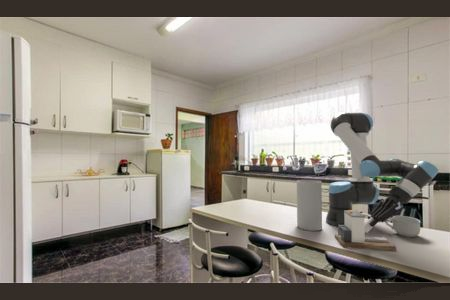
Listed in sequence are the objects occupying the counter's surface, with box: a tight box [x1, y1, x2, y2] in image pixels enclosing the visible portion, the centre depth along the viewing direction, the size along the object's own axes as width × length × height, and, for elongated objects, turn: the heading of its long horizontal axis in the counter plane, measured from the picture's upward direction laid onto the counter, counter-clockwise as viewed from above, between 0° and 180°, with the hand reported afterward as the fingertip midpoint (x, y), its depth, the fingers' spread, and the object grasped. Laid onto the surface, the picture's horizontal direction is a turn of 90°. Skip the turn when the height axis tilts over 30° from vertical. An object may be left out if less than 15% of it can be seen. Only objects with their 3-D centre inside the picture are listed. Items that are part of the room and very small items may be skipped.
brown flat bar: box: [339, 235, 390, 243], centre depth 99 cm, size 3×19×1 cm, turn 80°
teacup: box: [384, 215, 421, 238], centre depth 110 cm, size 14×11×8 cm
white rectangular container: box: [344, 210, 366, 243], centre depth 99 cm, size 9×5×12 cm, turn 170°
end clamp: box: [337, 225, 352, 242], centre depth 100 cm, size 8×3×5 cm, turn 170°
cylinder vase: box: [296, 179, 323, 232], centre depth 121 cm, size 12×12×25 cm
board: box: [334, 233, 397, 251], centre depth 99 cm, size 12×20×2 cm, turn 80°
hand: (363, 230), depth 98 cm, fingers closed
